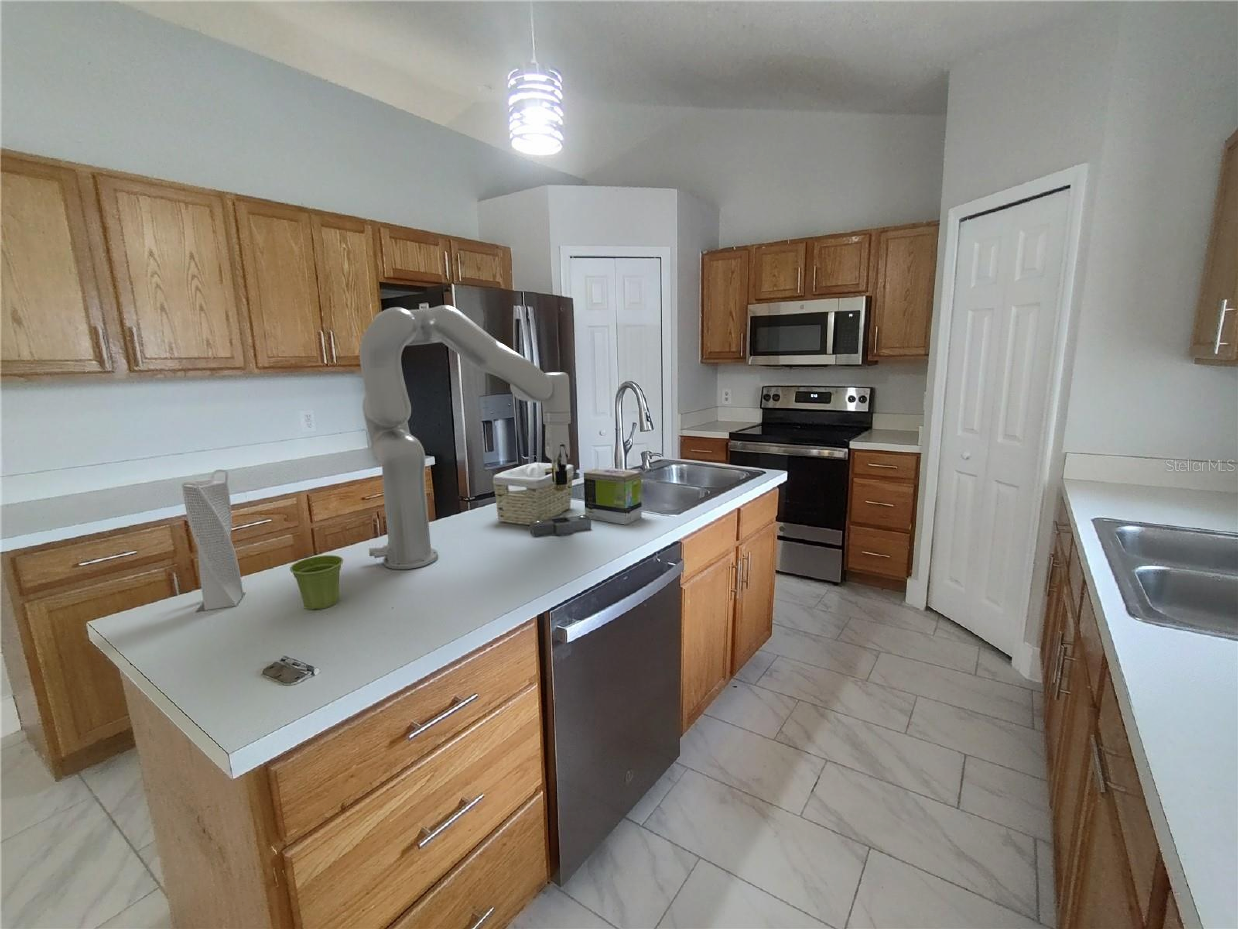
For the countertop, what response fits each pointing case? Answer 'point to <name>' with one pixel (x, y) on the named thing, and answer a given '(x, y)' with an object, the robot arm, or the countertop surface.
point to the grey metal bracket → (560, 525)
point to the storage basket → (530, 493)
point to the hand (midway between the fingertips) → (559, 482)
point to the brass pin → (557, 487)
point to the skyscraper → (213, 542)
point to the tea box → (613, 495)
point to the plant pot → (318, 580)
